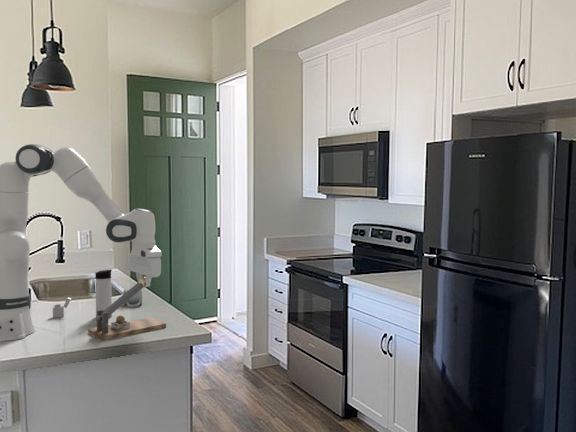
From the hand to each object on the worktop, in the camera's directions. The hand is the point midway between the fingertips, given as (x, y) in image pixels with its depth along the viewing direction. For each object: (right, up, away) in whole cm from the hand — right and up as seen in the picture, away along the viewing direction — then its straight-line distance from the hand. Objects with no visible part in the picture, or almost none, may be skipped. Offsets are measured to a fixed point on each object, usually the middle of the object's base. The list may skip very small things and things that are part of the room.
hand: (144, 285), depth 205 cm
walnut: (-7, -12, -6) cm, 15 cm away
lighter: (-38, -15, +15) cm, 44 cm away
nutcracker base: (-5, -17, -3) cm, 18 cm away
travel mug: (-21, -16, +15) cm, 30 cm away
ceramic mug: (-15, -14, +36) cm, 41 cm away
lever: (-5, -6, -4) cm, 9 cm away
